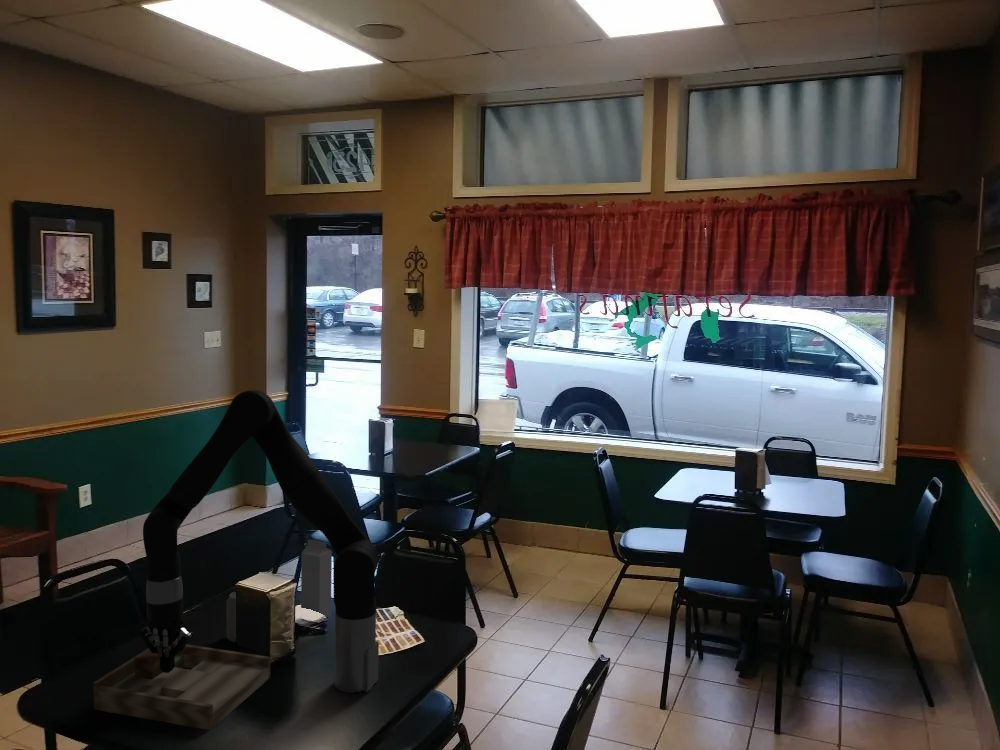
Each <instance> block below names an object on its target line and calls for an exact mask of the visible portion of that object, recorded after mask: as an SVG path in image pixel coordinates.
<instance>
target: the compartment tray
mask: <svg viewBox="0 0 1000 750" xmlns="http://www.w3.org/2000/svg"><path fill="white" fill-rule="evenodd" d="M177 643H178V642H177ZM177 643H176V645H177ZM153 645H154V644H153ZM154 646H155V645H154ZM147 649H149V648H148V647H147V648H146V649H145V650H143V651H142V652H140V653H138V654H137V655H136V656H138V655H139V654H141V653H143V652H144V651H146V650H147ZM136 656H134V657H132V658H131V659H129V660H127V661H125V662H124V663H122V664H120V665H119V666H118V667H116V668H114V669H113V670H111V671H110V672H108V673H106V674H104V676H102V677H100V678H99V679H97V680H95V681H93V710H94V709H95V711H101V712H106V713H112V714H118V715H124V716H129V717H135V718H140V719H144V720H145V719H146V720H151V721H156V720H157V722H161V721H164V722H163V723H168V724H173V725H174V724H175V725H178V726H184V727H185V726H186V727H191V728H197V729H201V730H208V731H211V730H212V729H213V728H214V727H215V726H217V725H218V724H219V723H220V722H221V721H222V720H223V719H225V718H226V717H227V716H228V715H229V714H231V712H232V711H234V710H235V709H236V708H237V707H239V705H241V704H242V703H243V702H244V701H245V700H246V699H247V698H249V697H250V696H251V695H252V694H253V693H254V692H255V691H257V690H258V689H259V688H260V687H262V686H263V685H264V684H265V683H266V682H267V681H268V680H269V679H270V678H271V656H266V655H260V654H254V653H248V652H241V651H240V652H239V651H233V650H226V649H221V648H220V649H219V648H212V647H207V646H200V645H194V644H188V643H187V645H186V646H185V647H184V649H183V650H182V651H181V652H179V653H178V654H176V655H175V667H174V668H173V670H172V671H171V672H169V673H164V672H163V673H161V674H160V675H158V676H157V677H155V678H154V679H146V678H140V677H135V657H136Z"/></svg>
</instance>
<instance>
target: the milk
mask: <svg viewBox="0 0 1000 750" xmlns="http://www.w3.org/2000/svg"><path fill="white" fill-rule="evenodd" d="M332 552H333V551H332V550H331V549H329V548H327V543H326V542H325V541H321V540H314V539H307V545H306V546H305V547H304V549H303V551H302V552H301V555H300V556H301V559H300V561H301V564H300V565H301V567H300V568H301V569H300V570H301V576H300V578H301V580H300V582H301V583H300V609H301V608H306V609H311V610H313V611H316V612H319V613H321V614H323V615H325V616H326V617H328V618H330V617H331V616H332V569H333V568H332V566H333V564H332V561H333V560H332V557H333V556H332V554H333V553H332ZM329 616H330V617H329Z"/></svg>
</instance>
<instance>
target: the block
mask: <svg viewBox="0 0 1000 750" xmlns="http://www.w3.org/2000/svg"><path fill="white" fill-rule="evenodd" d="M146 649H147V650H146ZM146 649H145V650H146V651H145V650H143V651H144V652H143V651H142V652H143V653H142V652H140V653H141V654H140V653H138V654H139V655H138V654H137V655H138V656H137V655H136V657H135V656H134V657H135V677H140V678H146V679H154V678H155V677H157V676H158V675H160V674H161V673H163V672H162V670H161V669H160V657H159V656H158V654H157V653H152V652H151V651H150V649H148V648H146Z"/></svg>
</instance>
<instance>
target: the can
mask: <svg viewBox="0 0 1000 750" xmlns="http://www.w3.org/2000/svg"><path fill="white" fill-rule="evenodd" d="M228 597H229V598H227V599H226V639H227V640H229V641H230V642H231V641H232V643H235V638H236V592H235V591H233V592H231V593H229V595H228ZM235 644H236V643H235Z"/></svg>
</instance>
